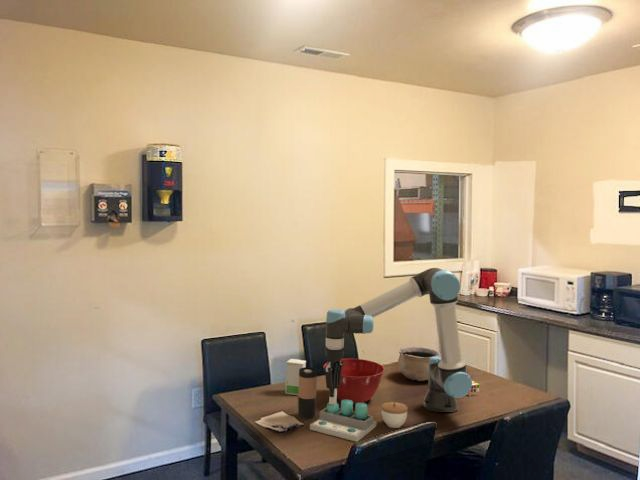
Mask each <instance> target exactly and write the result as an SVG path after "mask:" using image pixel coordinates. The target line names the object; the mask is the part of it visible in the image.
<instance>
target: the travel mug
mask: <svg viewBox="0 0 640 480" xmlns="http://www.w3.org/2000/svg"><path fill="white" fill-rule="evenodd" d="M317 373H318V370H317V369H316V368H314V367H310V366H309V367H304V368H300V369H299V391H298V395H297V397H298V398H297V400H298V403H297V404H298V407H297V409H298V411H297V413H298V418H300V419H303V420H312V419H314V418H315V417H316V407H317V406H316V405H317V382H318V381H317V376H318V375H317Z"/></svg>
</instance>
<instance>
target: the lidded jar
mask: <svg viewBox="0 0 640 480" xmlns="http://www.w3.org/2000/svg"><path fill="white" fill-rule="evenodd" d="M381 417H382V420H383V422H384V423H385V424H386V426H387V427H389V428H392V429H397V428H402V426H403V425H404V424H405V423H406V421H407V419H408V418H407V417H408V406H407V405H406V404H404V403H401V402H394V401H390V402H384V403H382V404H381Z"/></svg>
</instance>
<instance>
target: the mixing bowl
mask: <svg viewBox="0 0 640 480" xmlns="http://www.w3.org/2000/svg"><path fill="white" fill-rule="evenodd" d="M341 361H343V362H344V363H343V367H342V373H341V381H340V385H338V386H340V387H339V388H337V400H339V401H340V402H341V401H342V400H352V401H353V405H355V404H356V403H366V402H368V401H369V400H371V399H372V398H373V397H374V395H375V394H376V392H377V390H378V389H379V386H380V383H381V381H382V378H383V375H384V372H385V367H384V366H383V365H382V364H380V363H378V362H376V361H371V360H368V359H362V358H361V359H360V358H341ZM327 365H328V364H327V362H326V363H325V364H324V365H323V367H322V368H323V369H324V367H327Z"/></svg>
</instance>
